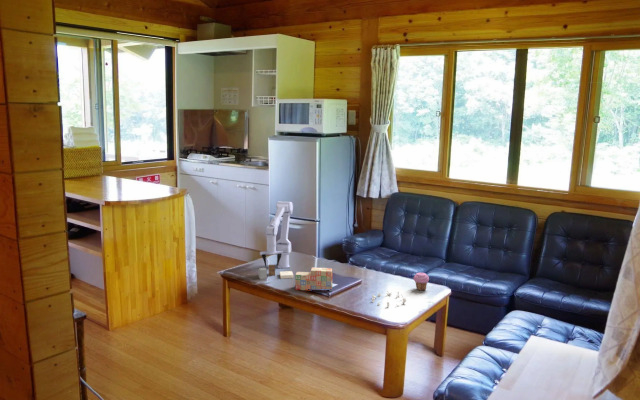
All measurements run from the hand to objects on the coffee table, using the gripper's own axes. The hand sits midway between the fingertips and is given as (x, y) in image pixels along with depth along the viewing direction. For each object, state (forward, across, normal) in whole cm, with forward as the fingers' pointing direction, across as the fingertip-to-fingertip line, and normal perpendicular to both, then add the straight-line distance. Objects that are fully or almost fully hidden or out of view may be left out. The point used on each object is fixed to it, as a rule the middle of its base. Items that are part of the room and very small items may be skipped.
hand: (271, 265), depth 337 cm
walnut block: (+6, 0, 0) cm, 6 cm away
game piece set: (+7, +61, -57) cm, 84 cm away
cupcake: (+6, +85, -41) cm, 95 cm away
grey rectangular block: (+6, -6, -6) cm, 10 cm away
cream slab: (+6, +9, -5) cm, 12 cm away
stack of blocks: (+6, +23, -31) cm, 39 cm away
